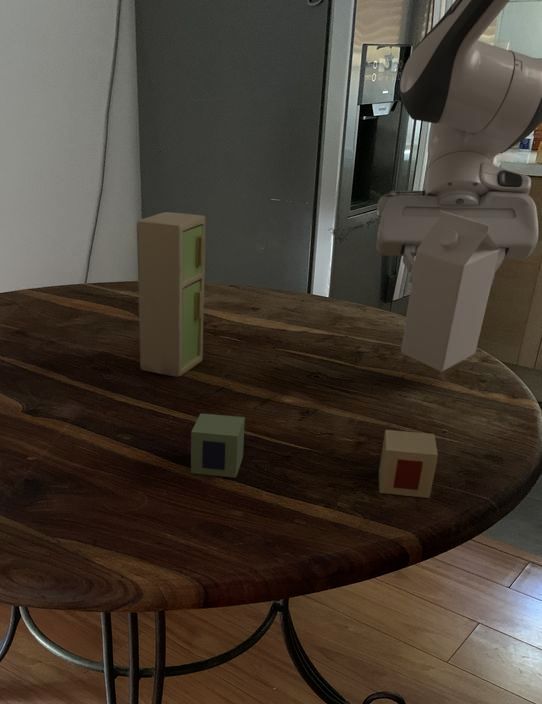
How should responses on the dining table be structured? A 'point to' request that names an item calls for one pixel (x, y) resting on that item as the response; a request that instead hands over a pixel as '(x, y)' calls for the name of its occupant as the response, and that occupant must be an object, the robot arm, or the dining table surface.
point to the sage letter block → (217, 445)
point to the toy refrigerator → (171, 291)
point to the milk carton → (449, 291)
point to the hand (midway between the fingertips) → (451, 282)
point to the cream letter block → (407, 463)
